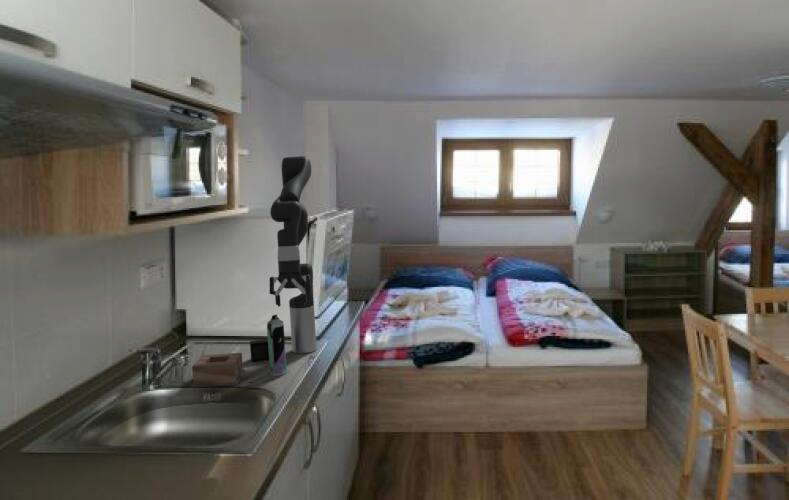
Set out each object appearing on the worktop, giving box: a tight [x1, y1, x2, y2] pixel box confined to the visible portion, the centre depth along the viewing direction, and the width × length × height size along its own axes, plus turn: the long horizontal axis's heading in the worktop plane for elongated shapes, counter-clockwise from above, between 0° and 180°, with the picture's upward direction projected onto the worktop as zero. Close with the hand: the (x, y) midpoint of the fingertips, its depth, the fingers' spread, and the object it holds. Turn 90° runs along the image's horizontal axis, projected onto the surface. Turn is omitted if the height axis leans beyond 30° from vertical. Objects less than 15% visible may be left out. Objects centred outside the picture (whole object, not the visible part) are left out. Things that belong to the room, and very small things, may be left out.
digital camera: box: [249, 338, 269, 363], centre depth 222 cm, size 10×5×7 cm, turn 110°
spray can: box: [266, 314, 288, 377], centre depth 204 cm, size 6×6×20 cm
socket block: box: [191, 352, 246, 389], centre depth 201 cm, size 14×14×7 cm
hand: (291, 305), depth 212 cm, fingers open, 8 cm apart
